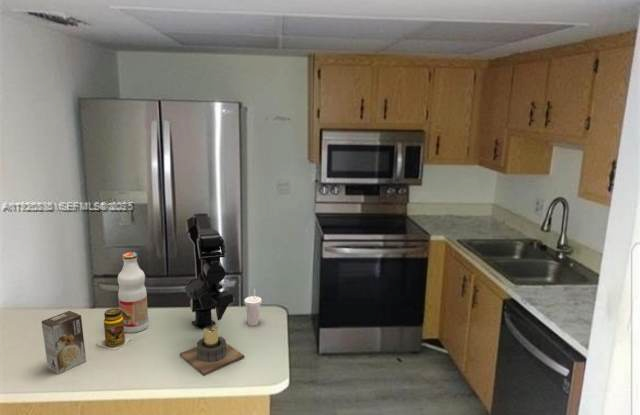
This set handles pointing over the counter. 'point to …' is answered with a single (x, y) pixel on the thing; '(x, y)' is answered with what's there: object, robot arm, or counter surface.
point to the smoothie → (253, 309)
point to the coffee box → (64, 341)
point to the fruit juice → (132, 295)
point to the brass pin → (211, 337)
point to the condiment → (113, 330)
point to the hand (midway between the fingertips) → (211, 314)
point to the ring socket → (211, 356)
